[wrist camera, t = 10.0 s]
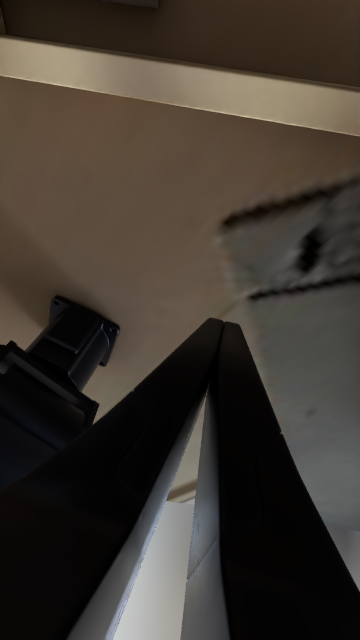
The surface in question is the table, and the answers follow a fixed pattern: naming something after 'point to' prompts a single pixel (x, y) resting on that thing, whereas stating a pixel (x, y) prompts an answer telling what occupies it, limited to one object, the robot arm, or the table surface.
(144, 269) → the table surface
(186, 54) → the table surface
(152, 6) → the baking tin
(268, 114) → the corner bracket
